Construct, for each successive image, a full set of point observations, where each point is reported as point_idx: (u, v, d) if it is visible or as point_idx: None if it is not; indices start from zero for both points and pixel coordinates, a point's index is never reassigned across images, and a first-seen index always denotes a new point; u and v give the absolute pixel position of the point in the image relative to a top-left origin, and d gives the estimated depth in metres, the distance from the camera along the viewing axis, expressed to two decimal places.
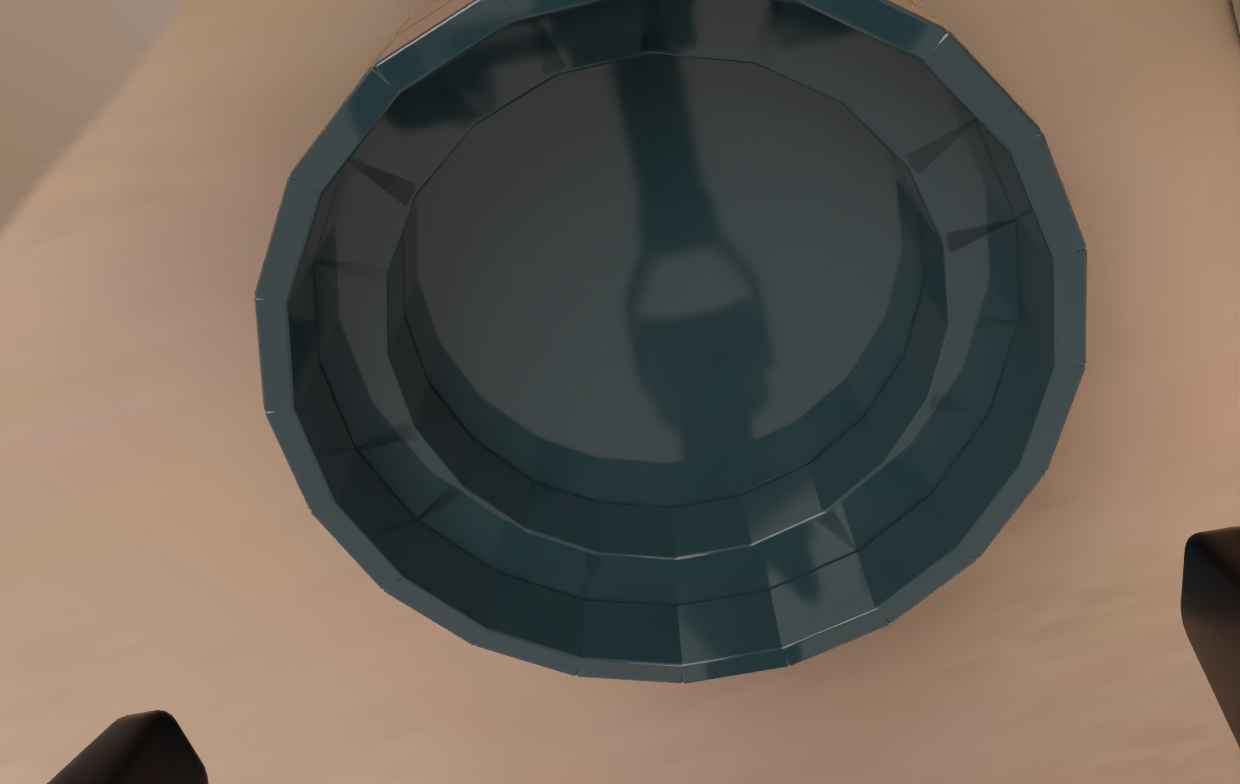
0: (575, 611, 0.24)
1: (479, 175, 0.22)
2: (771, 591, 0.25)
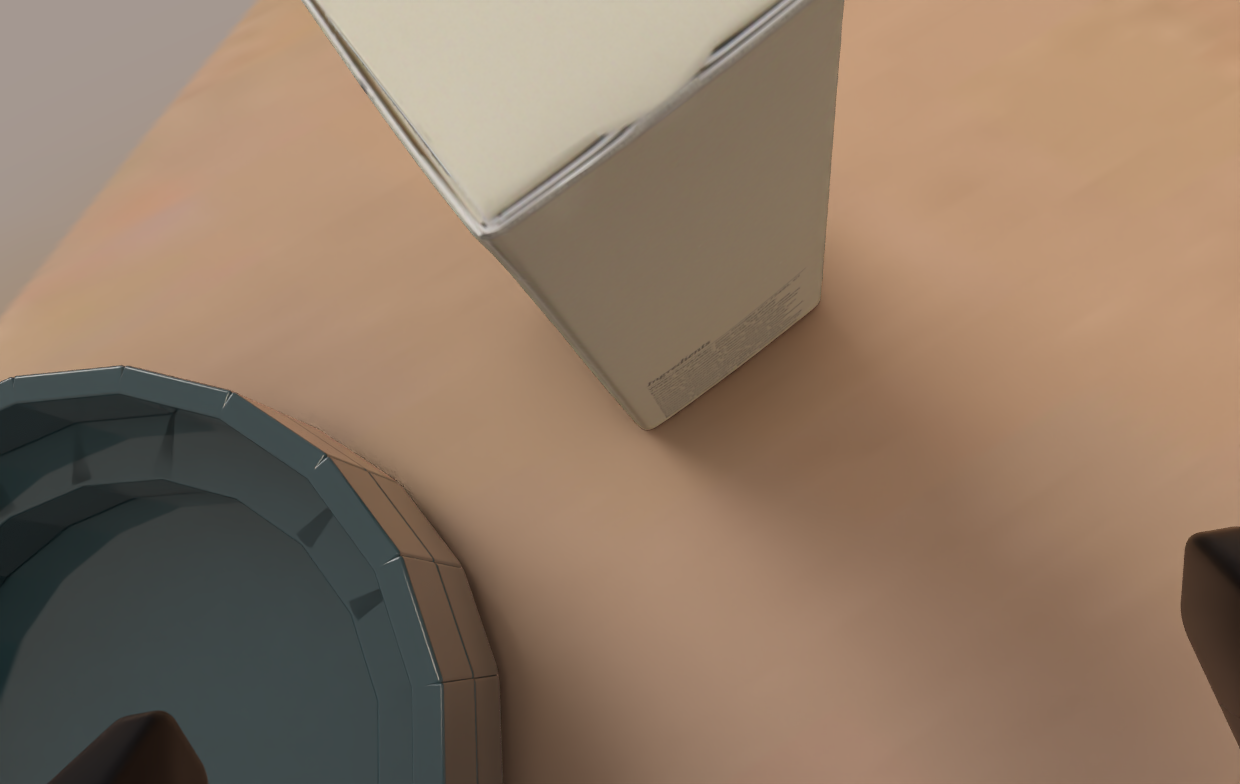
0: None
1: (0, 647, 0.24)
2: None
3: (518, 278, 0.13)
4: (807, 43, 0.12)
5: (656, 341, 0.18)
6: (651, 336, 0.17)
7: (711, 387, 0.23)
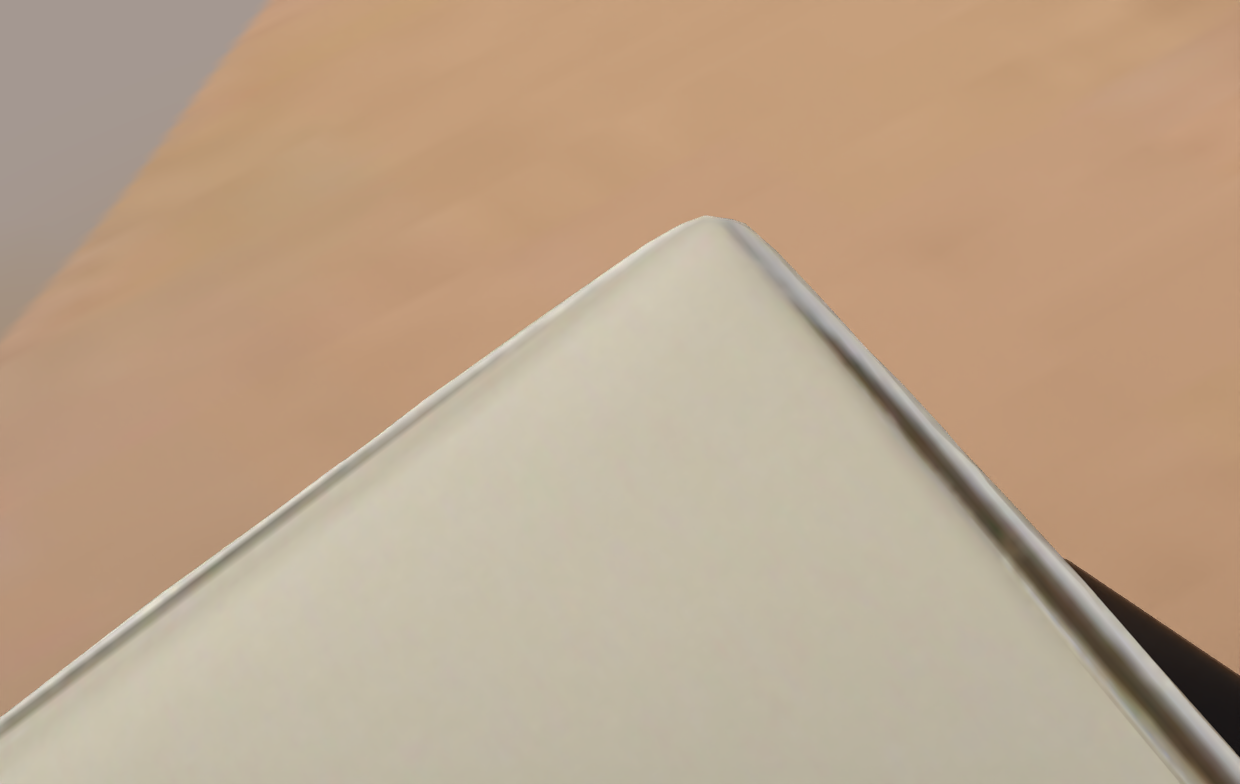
0: None
1: None
2: None
3: None
4: None
5: None
6: None
7: None
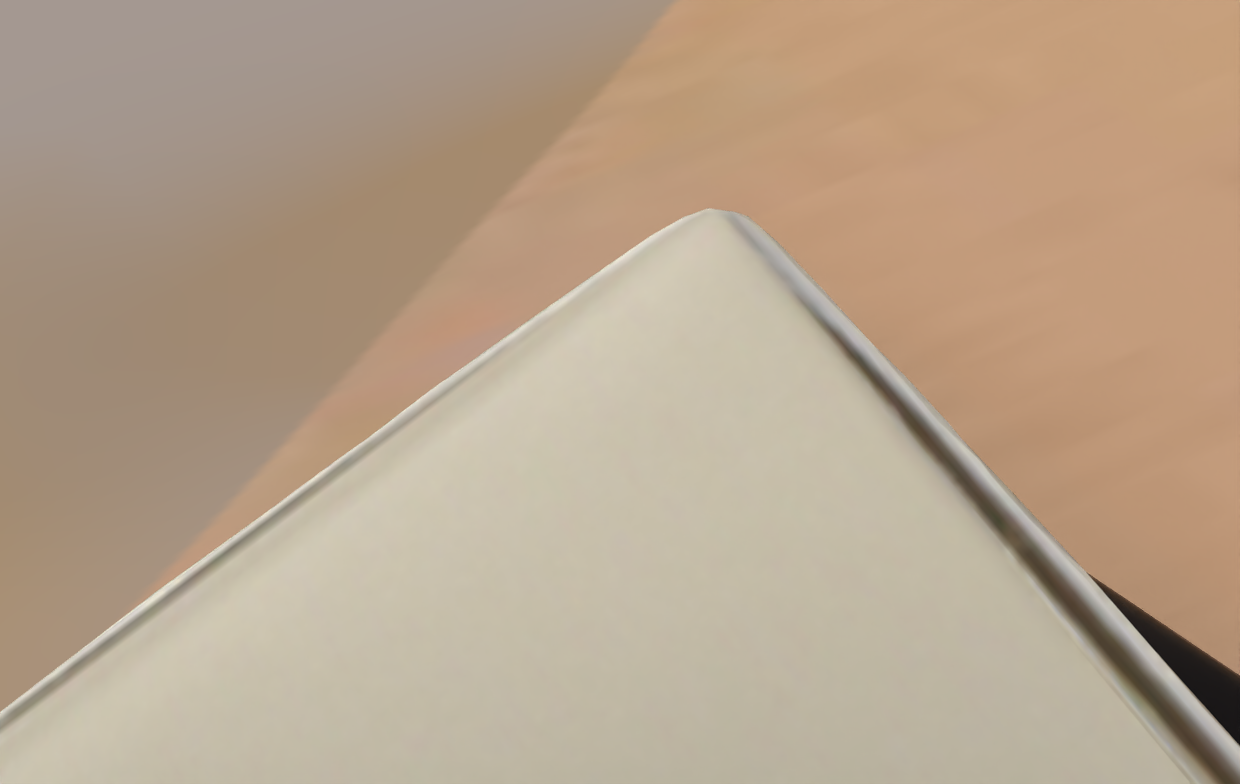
0: None
1: None
2: None
3: None
4: None
5: None
6: None
7: None
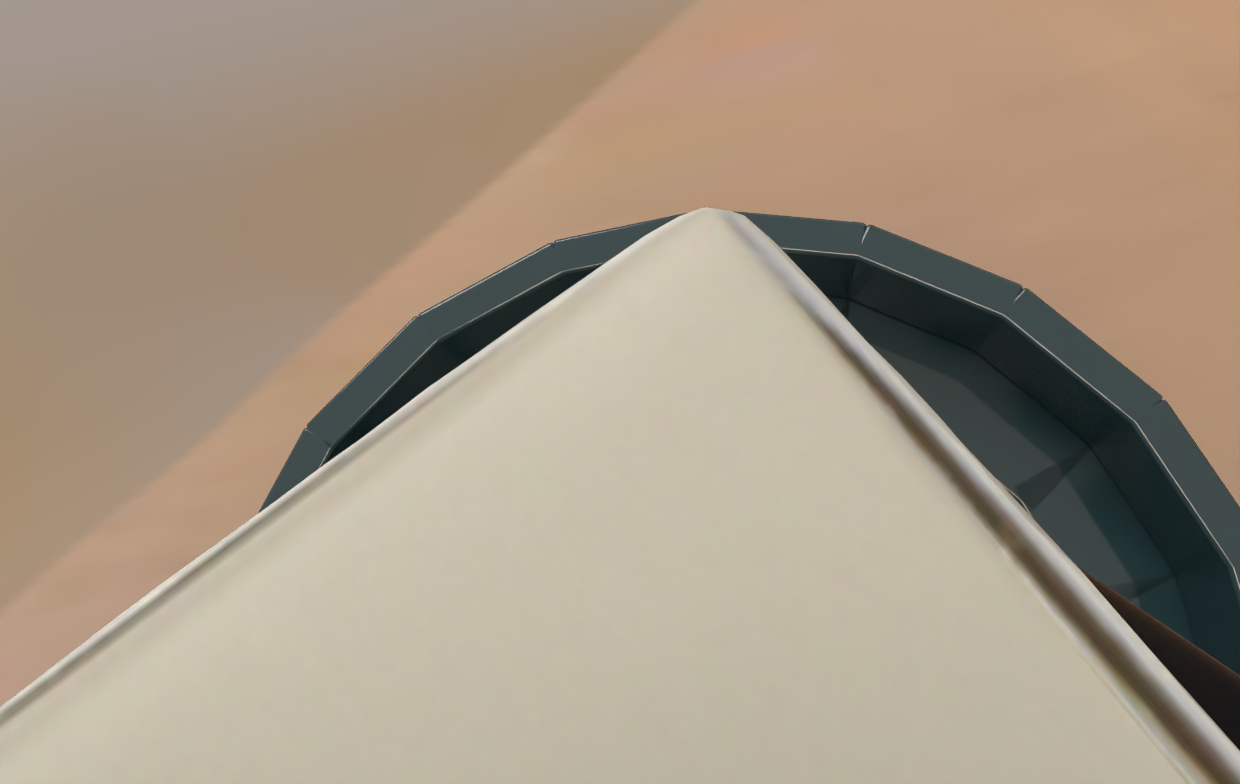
0: None
1: None
2: None
3: None
4: None
5: None
6: None
7: None
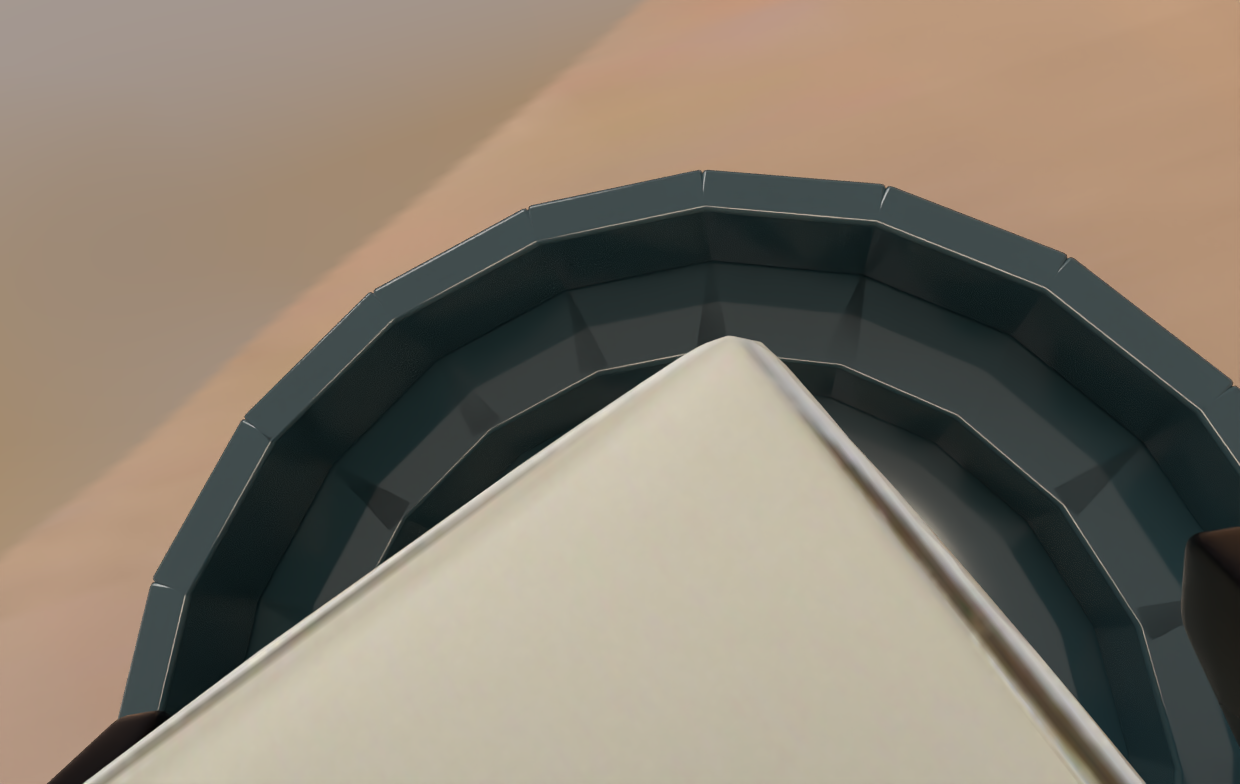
0: None
1: None
2: None
3: None
4: None
5: None
6: None
7: None
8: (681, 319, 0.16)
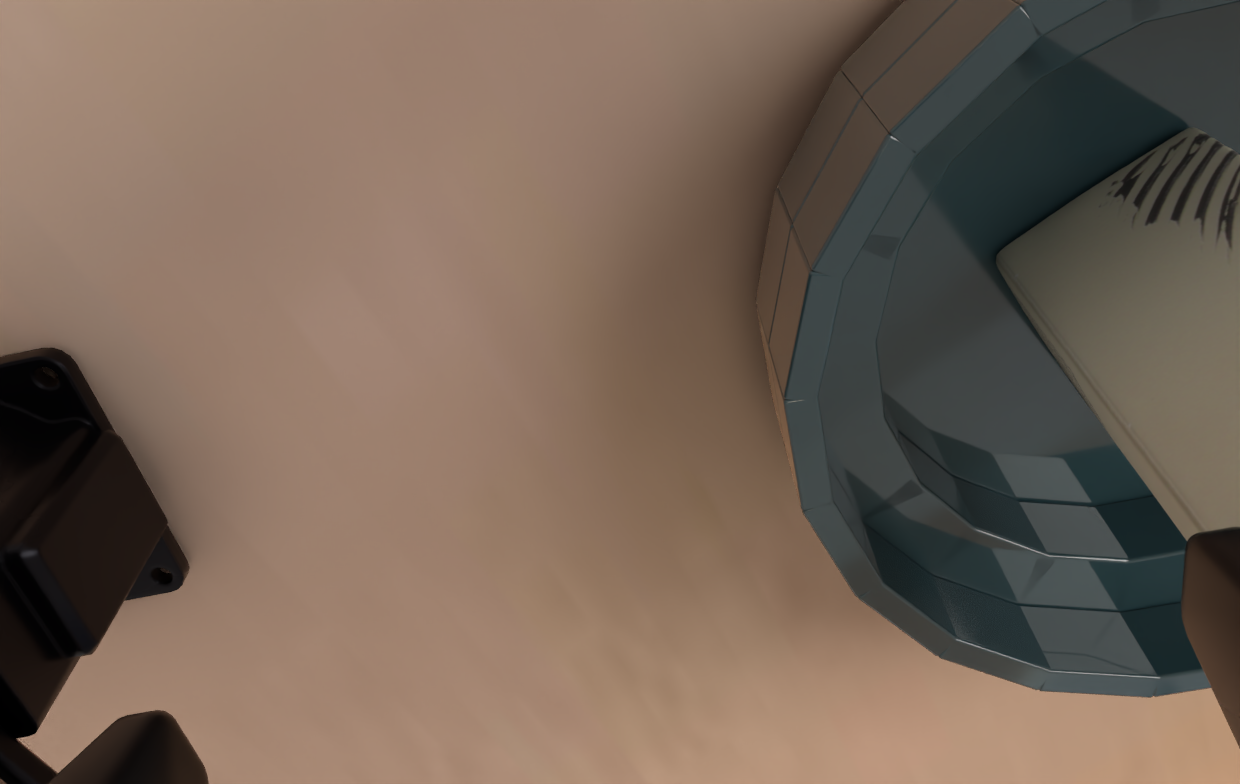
0: None
1: None
2: None
3: None
4: None
5: (1134, 460, 0.16)
6: (1145, 475, 0.16)
7: None
8: None
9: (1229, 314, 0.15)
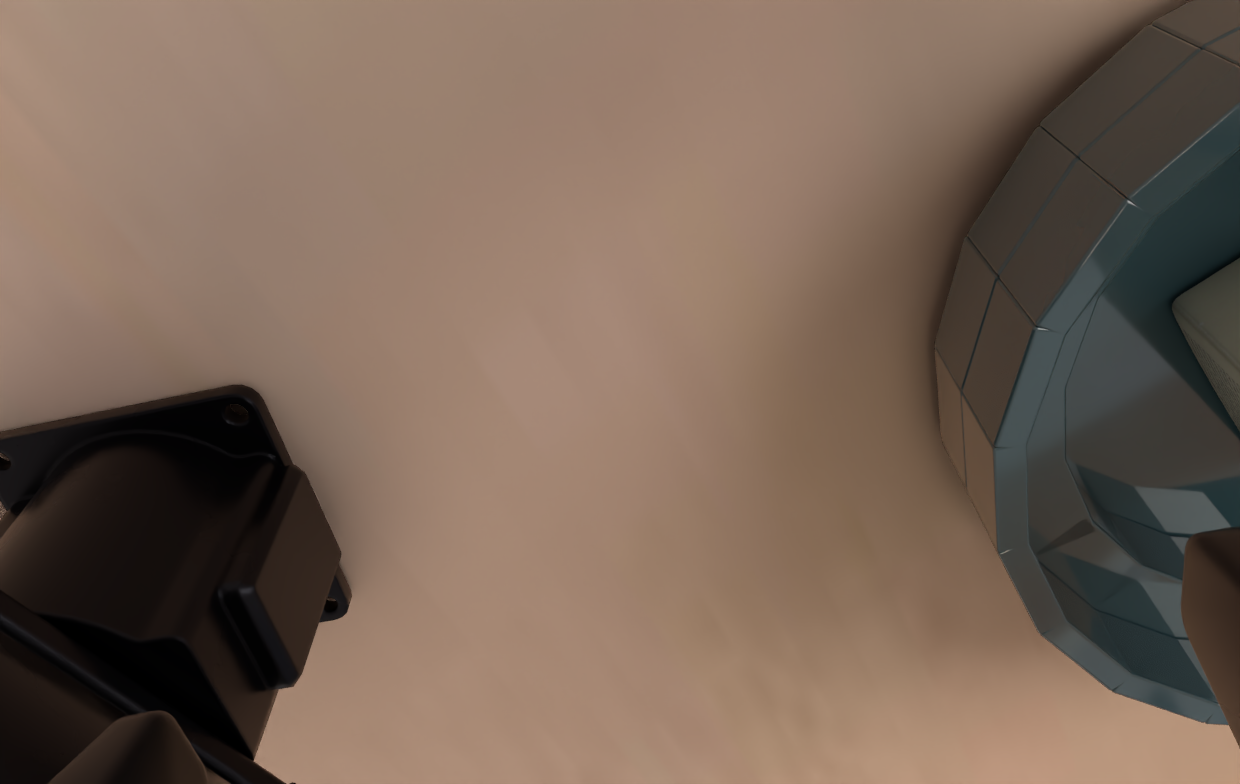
0: None
1: None
2: None
3: None
4: None
5: None
6: None
7: None
8: None
9: None
